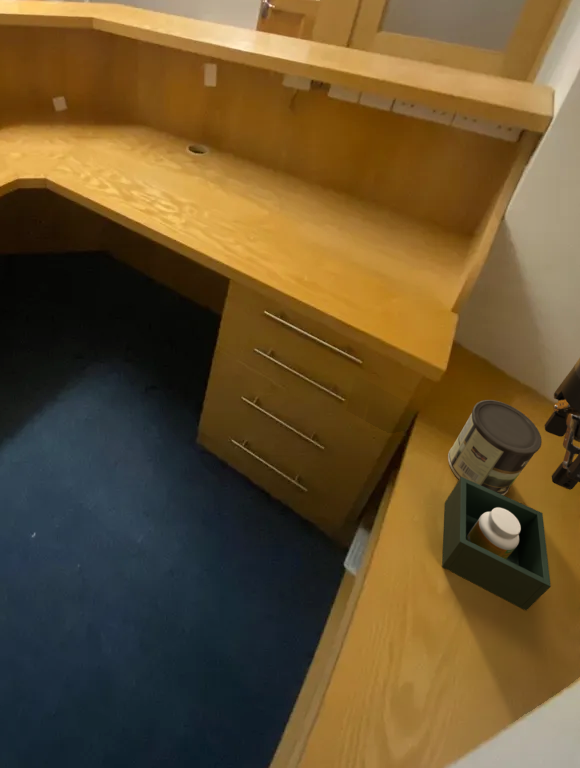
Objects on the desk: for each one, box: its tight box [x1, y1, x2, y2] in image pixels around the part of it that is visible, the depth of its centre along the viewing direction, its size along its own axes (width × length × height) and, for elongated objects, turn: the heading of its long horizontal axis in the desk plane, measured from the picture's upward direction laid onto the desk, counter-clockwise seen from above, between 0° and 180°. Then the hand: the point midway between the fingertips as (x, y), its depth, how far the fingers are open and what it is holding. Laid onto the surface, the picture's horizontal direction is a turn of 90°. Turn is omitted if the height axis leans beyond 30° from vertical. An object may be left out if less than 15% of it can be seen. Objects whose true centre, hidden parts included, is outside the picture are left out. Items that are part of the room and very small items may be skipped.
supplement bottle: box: [466, 508, 521, 559], centre depth 82 cm, size 5×5×10 cm
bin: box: [441, 477, 552, 611], centre depth 83 cm, size 12×12×9 cm
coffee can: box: [447, 399, 543, 496], centre depth 93 cm, size 10×10×14 cm
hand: (556, 456), depth 70 cm, fingers open, 8 cm apart
